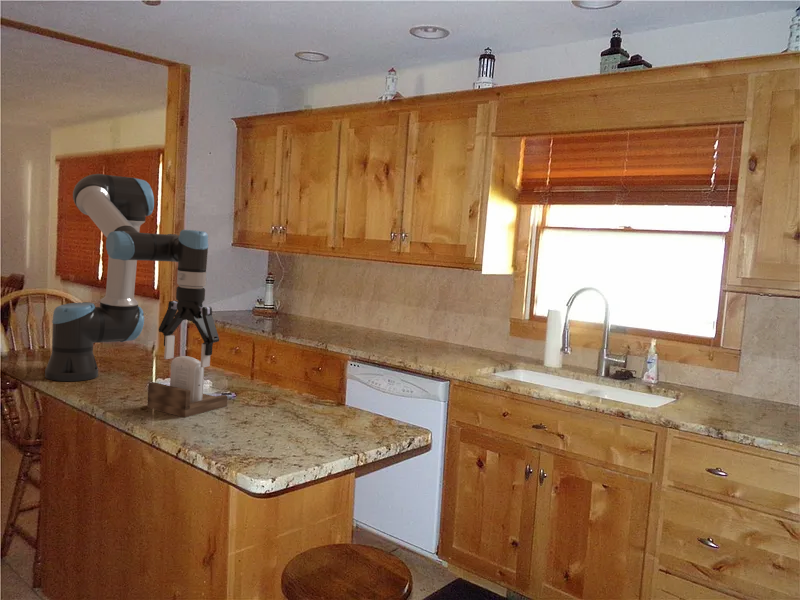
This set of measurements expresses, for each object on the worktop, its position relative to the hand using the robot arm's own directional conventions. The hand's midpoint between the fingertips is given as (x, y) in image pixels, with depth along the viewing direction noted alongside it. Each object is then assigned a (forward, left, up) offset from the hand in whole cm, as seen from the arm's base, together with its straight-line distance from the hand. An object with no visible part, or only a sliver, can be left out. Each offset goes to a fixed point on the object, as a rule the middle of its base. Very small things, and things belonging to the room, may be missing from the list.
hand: (186, 362), depth 180 cm
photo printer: (0, 0, -11) cm, 11 cm away
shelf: (0, +1, -13) cm, 13 cm away
